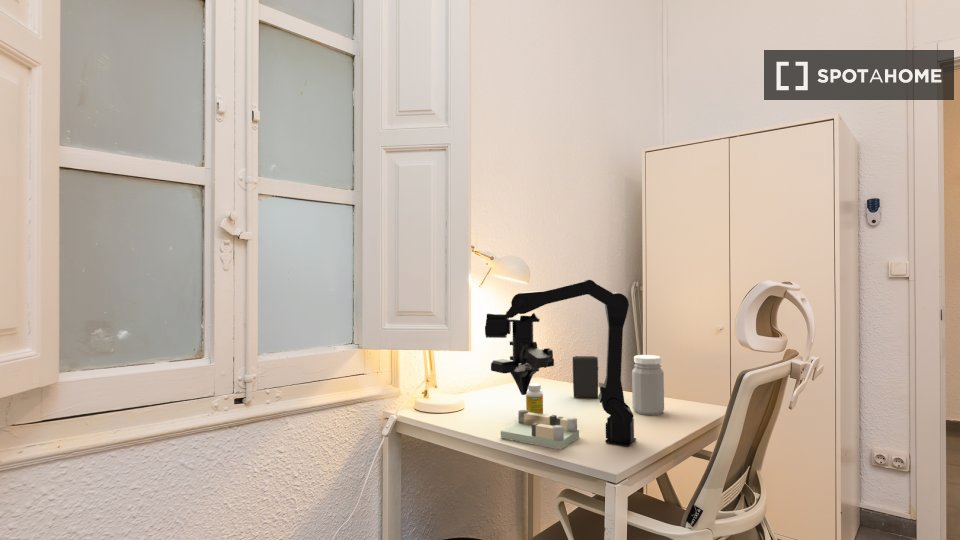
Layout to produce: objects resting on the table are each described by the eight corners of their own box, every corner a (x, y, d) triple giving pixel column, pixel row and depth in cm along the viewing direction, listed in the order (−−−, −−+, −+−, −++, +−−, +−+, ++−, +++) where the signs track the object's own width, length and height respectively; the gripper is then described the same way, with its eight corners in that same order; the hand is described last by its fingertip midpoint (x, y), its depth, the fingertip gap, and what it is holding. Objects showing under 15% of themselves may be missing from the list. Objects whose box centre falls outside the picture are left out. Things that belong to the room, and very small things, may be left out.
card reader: (598, 396, 186) (597, 355, 187) (599, 398, 182) (598, 357, 183) (573, 395, 188) (572, 355, 188) (573, 398, 184) (572, 357, 184)
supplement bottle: (529, 417, 159) (529, 386, 159) (523, 413, 164) (523, 383, 164) (545, 416, 160) (545, 385, 160) (539, 412, 165) (538, 382, 165)
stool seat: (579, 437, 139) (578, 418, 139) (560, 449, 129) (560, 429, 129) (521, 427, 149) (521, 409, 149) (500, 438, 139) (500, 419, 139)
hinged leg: (516, 422, 146) (516, 411, 146) (521, 420, 148) (521, 409, 149) (552, 428, 140) (552, 417, 140) (557, 426, 142) (557, 414, 142)
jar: (662, 409, 167) (661, 354, 167) (666, 416, 158) (664, 359, 158) (632, 407, 170) (631, 353, 170) (633, 415, 160) (632, 358, 160)
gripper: (516, 343, 127) (516, 405, 127) (567, 337, 138) (568, 395, 138) (489, 339, 136) (489, 397, 136) (540, 334, 147) (540, 388, 147)
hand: (523, 394), depth 139 cm, fingers closed
